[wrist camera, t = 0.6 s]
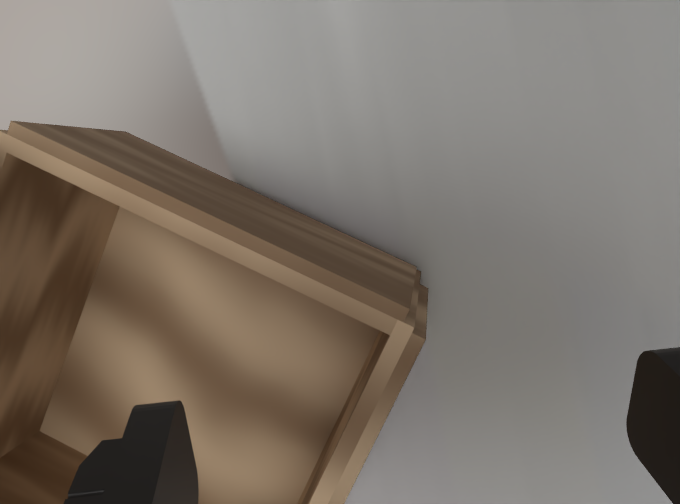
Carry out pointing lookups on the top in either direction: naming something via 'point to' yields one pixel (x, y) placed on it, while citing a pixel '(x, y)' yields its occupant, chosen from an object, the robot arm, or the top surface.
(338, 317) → the wooden box
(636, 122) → the top surface
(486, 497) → the top surface
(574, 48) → the top surface
